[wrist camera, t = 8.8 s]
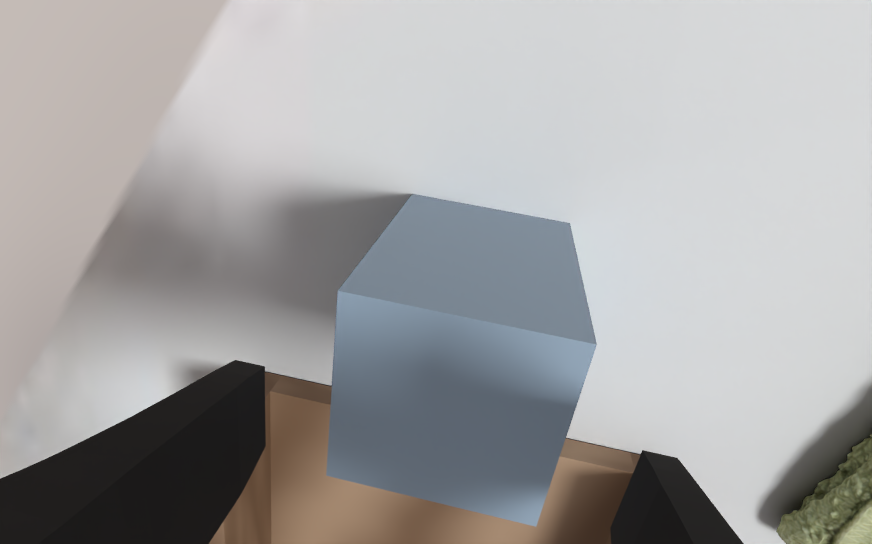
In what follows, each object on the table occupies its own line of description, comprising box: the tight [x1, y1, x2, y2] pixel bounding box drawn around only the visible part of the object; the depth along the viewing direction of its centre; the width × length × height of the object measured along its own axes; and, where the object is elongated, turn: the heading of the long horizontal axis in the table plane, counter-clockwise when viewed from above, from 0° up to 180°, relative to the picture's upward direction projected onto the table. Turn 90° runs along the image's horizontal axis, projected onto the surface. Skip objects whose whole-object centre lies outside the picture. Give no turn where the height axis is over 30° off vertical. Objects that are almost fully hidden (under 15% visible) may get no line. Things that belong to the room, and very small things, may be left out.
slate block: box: [326, 194, 597, 527], centre depth 14 cm, size 5×5×7 cm
